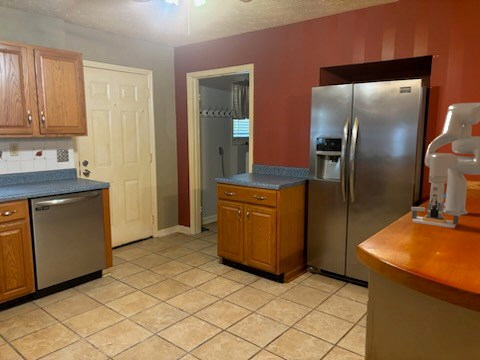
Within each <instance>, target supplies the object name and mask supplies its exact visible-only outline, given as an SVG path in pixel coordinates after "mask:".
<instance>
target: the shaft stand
mask: <svg viewBox="0 0 480 360" xmlns="http://www.w3.org/2000/svg"><path fill="white" fill-rule="evenodd" d="M411 211H412V212H411V213H412V215H411V219H412V221H411V222H412V223H416V224H422V225H423V224H424V225H429V226H436V227H444V228H451V229H455V228H456V227H457V225H458V224H459V219H460V217H461V216H462V215H461V213H460V212H454V211H448V210H447V211H446V213H445V215H448V216H453V219H452V220H447V217H446V216H442V219H441V220H440V219H433V218H427V214H425V215H424V216H418V212H426V207H419V206H411Z"/></svg>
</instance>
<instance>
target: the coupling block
mask: <svg viewBox="0 0 480 360" xmlns="http://www.w3.org/2000/svg"><path fill="white" fill-rule="evenodd" d="M431 205H432V203H431V202H430V201H429V202H428V203H427V210H426V211H427V214H426V215H427V218H433V217H430V213H431ZM436 206H437V205H436ZM443 208H444V203H441V204H440V203H438V218H433V219H440V220H441V219H442V217H443V213H444V212H443Z"/></svg>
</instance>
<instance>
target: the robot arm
mask: <svg viewBox="0 0 480 360" xmlns="http://www.w3.org/2000/svg"><path fill="white" fill-rule="evenodd" d="M479 122H480V102H463V103H453V104H451V105H449V106H448V108H447V112H446V114H445V119H444V122H443V126H442V129H441V134H440V135H439V136H437V137H436V138H434V139H433V140H432V141H431V143H430V144H428V147H427V149H426V153H425V157H424V164H425V166H427V167H428V168H429V173H428V174H429V175H428V183H431V184H430V192H429V203H430V202H431V203H432V205H431V213H430V217H433V218H438V203H440V204H443V213H445V214H446V211H447V210H448V211H454V212H460V213H461V216H462V215H463V216H464V215H468V214H469V211H467V210H466V201H467V200H466V199H467V188H468V180H467V178H466V177H465V176H464V175H475V176H477V175H480V136H479V135H478V136H476V135H475V136H473V135H472V130H473V129H472V128H473V126H474V125H477V124H479ZM472 125H473V126H472ZM450 143H451V150H452V152H453V153H447V152H445V153H444V152H436V151H437V150H438V149H439V148H441V147H442V146H445V145H447V144H450ZM456 154H463V155H464V154H465V156H463V155H456ZM466 155H467V156H466ZM468 155H474V156H468ZM445 184H446V190H445ZM445 191H446V192H445ZM445 193H446V198H445V197H444V196H445V195H444V194H445ZM444 200H445V202H446V203H445V202H444ZM444 203H445V204H444ZM436 205H437V206H436Z"/></svg>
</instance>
